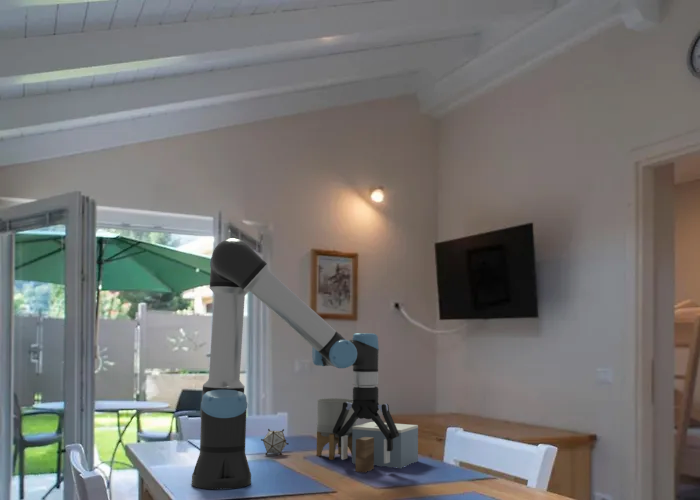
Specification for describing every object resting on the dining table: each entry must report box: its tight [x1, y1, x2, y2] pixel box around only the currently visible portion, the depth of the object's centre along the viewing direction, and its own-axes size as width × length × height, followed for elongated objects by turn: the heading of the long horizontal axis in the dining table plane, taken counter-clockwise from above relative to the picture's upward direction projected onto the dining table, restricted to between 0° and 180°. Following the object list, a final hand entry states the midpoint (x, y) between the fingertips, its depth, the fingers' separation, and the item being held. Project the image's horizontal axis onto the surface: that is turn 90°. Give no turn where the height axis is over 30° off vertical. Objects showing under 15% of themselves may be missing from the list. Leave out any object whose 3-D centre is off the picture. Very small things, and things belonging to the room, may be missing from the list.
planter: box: [316, 397, 358, 461], centre depth 228 cm, size 13×13×18 cm
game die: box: [260, 428, 289, 456], centre depth 230 cm, size 9×8×10 cm
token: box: [355, 437, 375, 473], centre depth 204 cm, size 3×6×9 cm, turn 154°
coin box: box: [351, 421, 419, 469], centre depth 218 cm, size 14×16×11 cm
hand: (365, 460), depth 204 cm, fingers open, 13 cm apart
